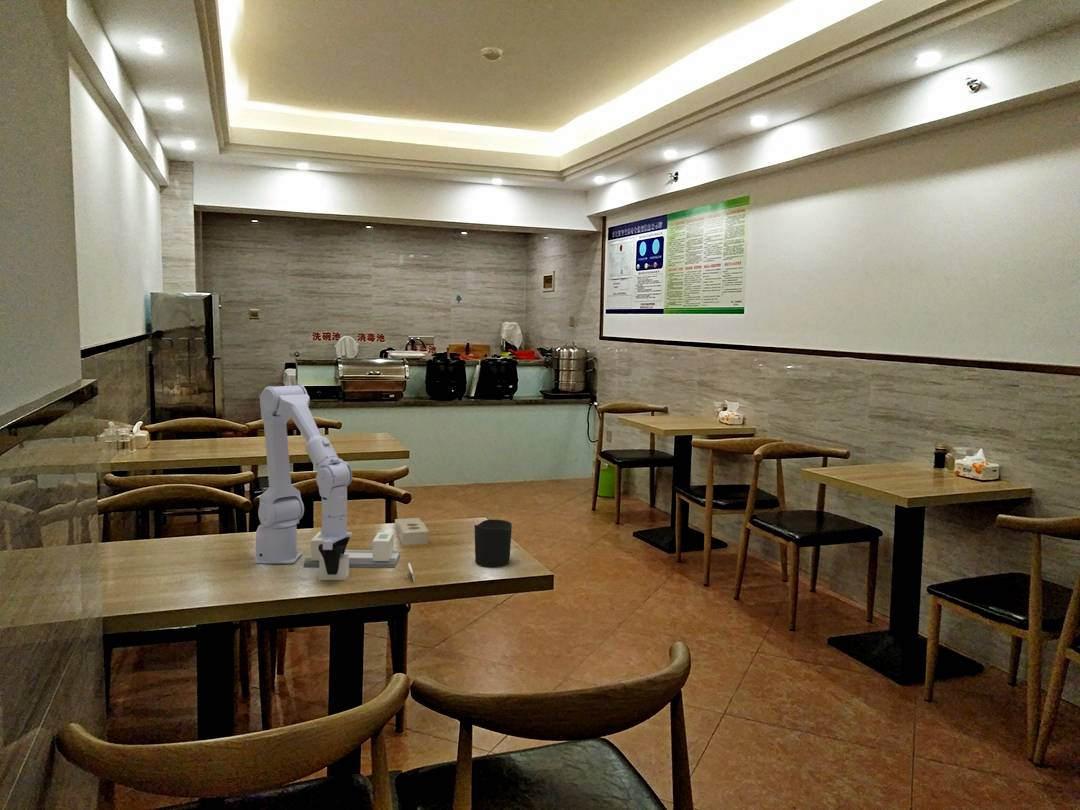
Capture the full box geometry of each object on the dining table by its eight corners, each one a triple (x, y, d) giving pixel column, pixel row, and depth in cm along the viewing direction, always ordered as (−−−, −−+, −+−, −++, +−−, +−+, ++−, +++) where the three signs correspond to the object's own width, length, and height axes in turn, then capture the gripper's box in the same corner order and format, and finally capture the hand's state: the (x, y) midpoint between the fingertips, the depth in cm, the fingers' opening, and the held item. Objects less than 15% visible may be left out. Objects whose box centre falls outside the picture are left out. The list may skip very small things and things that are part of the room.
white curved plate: (398, 585, 172) (398, 572, 172) (396, 574, 180) (396, 562, 180) (414, 584, 173) (414, 571, 173) (411, 573, 181) (411, 561, 181)
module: (319, 579, 174) (319, 558, 173) (323, 574, 178) (323, 553, 177) (345, 579, 174) (345, 558, 174) (349, 574, 178) (349, 553, 178)
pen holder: (516, 566, 187) (517, 527, 186) (480, 570, 184) (481, 530, 183) (503, 555, 196) (504, 518, 195) (469, 559, 192) (469, 521, 191)
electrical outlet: (419, 514, 222) (429, 530, 205) (419, 528, 222) (429, 545, 205) (394, 516, 219) (402, 532, 202) (394, 529, 220) (402, 546, 203)
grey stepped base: (303, 567, 182) (303, 540, 182) (314, 554, 192) (313, 529, 192) (394, 567, 184) (394, 541, 183) (400, 555, 193) (400, 530, 193)
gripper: (345, 522, 167) (345, 581, 169) (357, 507, 182) (357, 561, 183) (313, 522, 167) (313, 581, 168) (328, 507, 181) (328, 561, 183)
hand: (334, 571), depth 176 cm, fingers closed on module, 4 cm apart
